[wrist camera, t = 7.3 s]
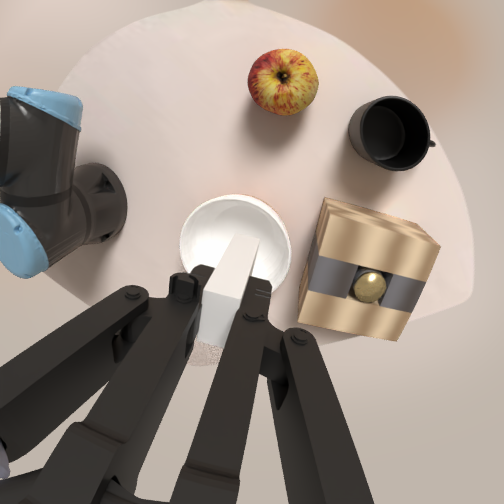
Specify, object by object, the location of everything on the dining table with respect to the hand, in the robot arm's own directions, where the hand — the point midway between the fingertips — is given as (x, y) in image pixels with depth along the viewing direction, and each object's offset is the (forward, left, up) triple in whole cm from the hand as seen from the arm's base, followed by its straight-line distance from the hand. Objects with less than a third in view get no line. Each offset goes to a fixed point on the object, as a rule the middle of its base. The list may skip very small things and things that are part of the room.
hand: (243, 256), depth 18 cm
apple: (-2, +14, -29) cm, 32 cm away
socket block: (+15, -9, -29) cm, 34 cm away
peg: (+15, -9, -28) cm, 33 cm away
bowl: (-4, -10, -29) cm, 31 cm away
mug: (+14, +11, -29) cm, 34 cm away
